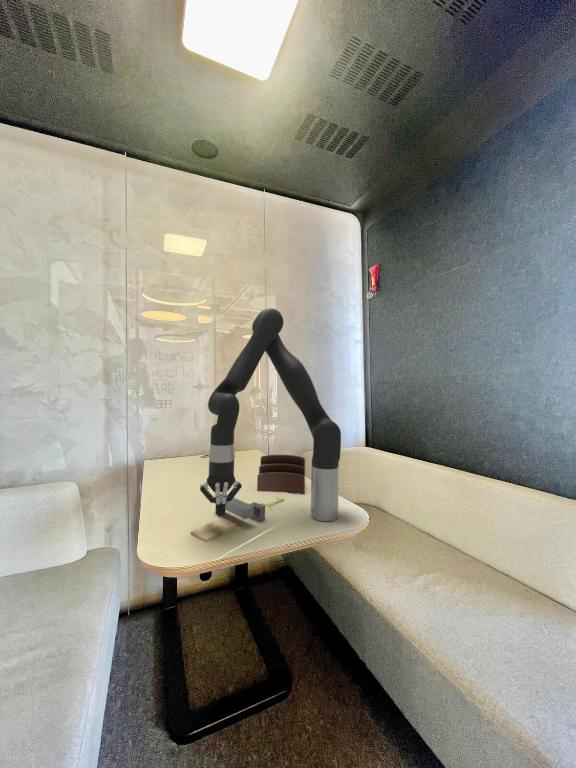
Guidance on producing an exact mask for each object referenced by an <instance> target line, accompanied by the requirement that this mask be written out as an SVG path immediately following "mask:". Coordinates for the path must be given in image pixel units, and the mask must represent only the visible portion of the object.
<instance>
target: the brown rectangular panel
mask: <svg viewBox="0 0 576 768" xmlns="http://www.w3.org/2000/svg"><path fill="white" fill-rule="evenodd" d="M237 527H238V523H236V522H233V521H232V520H230V519H226V518H223V517H221V518H218V519H216V520H214V521H212V522H210V523H207V524H205V525H203V526H201V527H198V528H196V529H193V530H192V531H190V535H192V536H193V537H195V538H197V539H200V540H201V541H203V542H205V543H207V542H209V541H211V540H212V539H215V538H216V537H219V536H221V535H223V534H225V533H226V532H228V531H230V530H233V529H235V528H237Z"/></svg>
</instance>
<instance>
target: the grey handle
mask: <svg viewBox="0 0 576 768" xmlns="http://www.w3.org/2000/svg"><path fill="white" fill-rule="evenodd" d="M221 495H222V493H220V502H221ZM250 504H251V503H247V502H244V501H242V500H240V499H238V498H236V497H234V498H233V499H232V500H231V501H228V502H226V506H225V511H226V512H229V513H230V514H233V515H234V516H237V517H239V518H241V519H244V520H247V519H251V518H250V517H252V516H254V506H252V505H250Z"/></svg>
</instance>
